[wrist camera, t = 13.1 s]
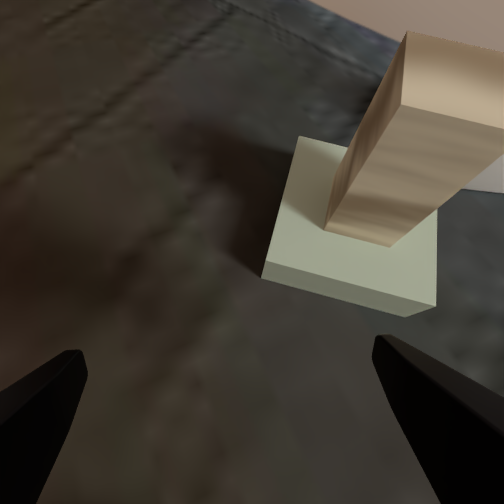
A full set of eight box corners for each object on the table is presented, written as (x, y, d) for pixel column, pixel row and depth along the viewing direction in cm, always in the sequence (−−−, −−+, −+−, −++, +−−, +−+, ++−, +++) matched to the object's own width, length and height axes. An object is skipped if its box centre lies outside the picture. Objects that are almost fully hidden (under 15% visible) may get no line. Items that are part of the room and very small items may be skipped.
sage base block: (404, 317, 24) (435, 306, 20) (260, 278, 24) (265, 260, 21) (411, 196, 28) (437, 170, 25) (290, 166, 29) (299, 135, 25)
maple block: (389, 247, 22) (527, 134, 12) (323, 230, 22) (400, 104, 12) (394, 192, 24) (515, 55, 14) (333, 177, 24) (407, 30, 14)
